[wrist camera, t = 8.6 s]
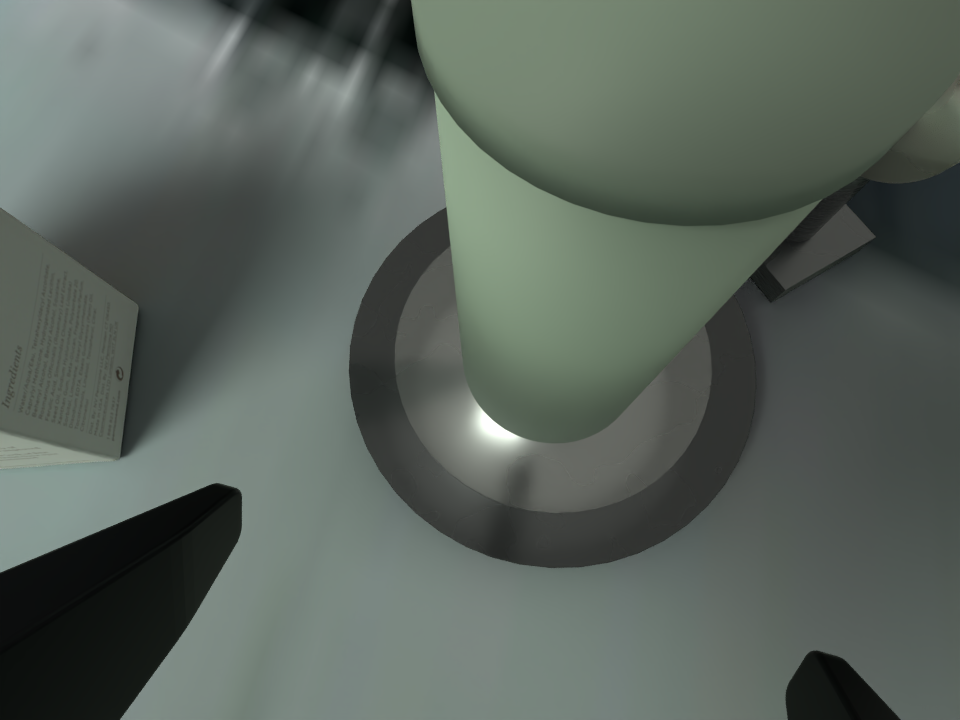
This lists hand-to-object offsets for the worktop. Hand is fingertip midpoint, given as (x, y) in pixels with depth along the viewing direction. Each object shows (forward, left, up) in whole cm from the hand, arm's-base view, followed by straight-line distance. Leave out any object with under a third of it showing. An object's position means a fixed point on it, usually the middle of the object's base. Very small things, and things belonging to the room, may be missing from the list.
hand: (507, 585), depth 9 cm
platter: (+4, +6, -9) cm, 11 cm away
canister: (+4, +5, -8) cm, 10 cm away
